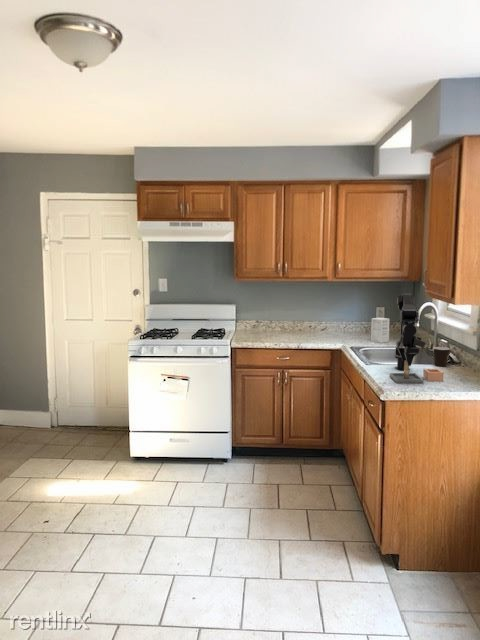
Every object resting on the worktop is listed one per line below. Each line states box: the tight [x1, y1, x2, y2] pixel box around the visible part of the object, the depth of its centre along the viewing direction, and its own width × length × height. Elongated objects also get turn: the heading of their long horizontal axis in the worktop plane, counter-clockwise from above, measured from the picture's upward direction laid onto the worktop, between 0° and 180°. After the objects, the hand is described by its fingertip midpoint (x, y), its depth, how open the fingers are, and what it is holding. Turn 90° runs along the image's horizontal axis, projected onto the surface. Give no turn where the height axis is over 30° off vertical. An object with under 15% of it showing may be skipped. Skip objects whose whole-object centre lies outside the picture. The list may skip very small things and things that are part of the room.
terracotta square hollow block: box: [422, 368, 445, 382], centre depth 248 cm, size 7×7×4 cm
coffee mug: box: [432, 346, 450, 368], centre depth 278 cm, size 12×9×10 cm
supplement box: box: [370, 317, 390, 344], centre depth 354 cm, size 10×9×17 cm
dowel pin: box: [403, 360, 410, 379], centre depth 246 cm, size 2×2×9 cm
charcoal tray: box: [389, 372, 425, 385], centre depth 246 cm, size 13×13×2 cm
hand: (406, 363), depth 246 cm, fingers open, 9 cm apart
